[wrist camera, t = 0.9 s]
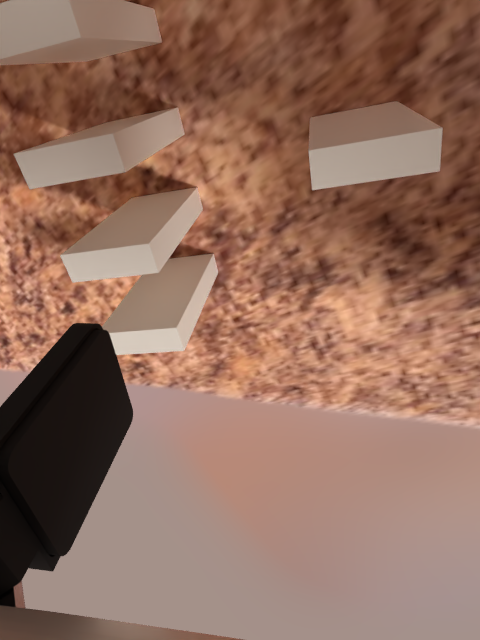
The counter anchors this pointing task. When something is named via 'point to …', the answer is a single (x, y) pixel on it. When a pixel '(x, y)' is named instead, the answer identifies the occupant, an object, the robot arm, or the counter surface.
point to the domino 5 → (372, 145)
